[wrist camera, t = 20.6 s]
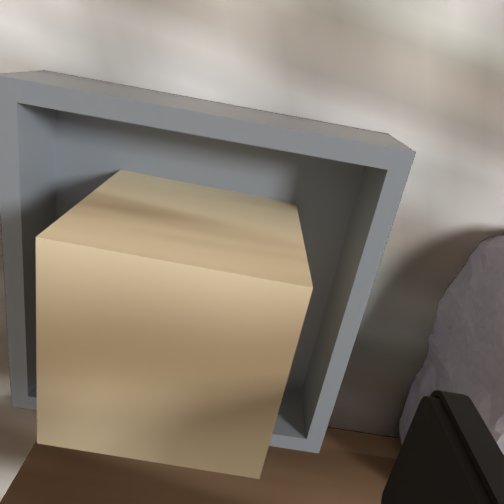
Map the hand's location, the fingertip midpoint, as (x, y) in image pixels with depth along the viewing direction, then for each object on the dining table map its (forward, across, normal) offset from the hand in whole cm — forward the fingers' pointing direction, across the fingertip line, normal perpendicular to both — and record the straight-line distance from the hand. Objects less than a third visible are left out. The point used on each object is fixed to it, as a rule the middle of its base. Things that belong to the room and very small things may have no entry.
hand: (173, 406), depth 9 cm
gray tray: (+6, 0, 0) cm, 6 cm away
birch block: (+6, 0, 0) cm, 6 cm away
